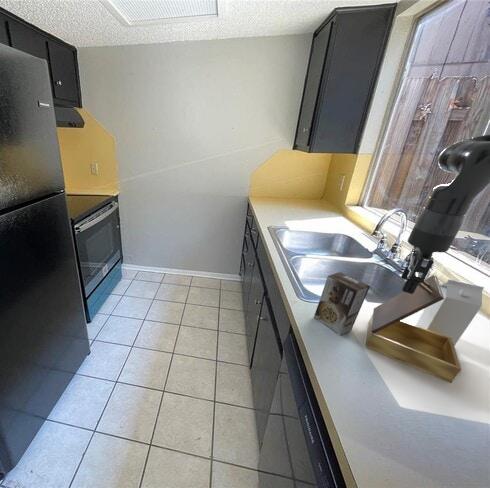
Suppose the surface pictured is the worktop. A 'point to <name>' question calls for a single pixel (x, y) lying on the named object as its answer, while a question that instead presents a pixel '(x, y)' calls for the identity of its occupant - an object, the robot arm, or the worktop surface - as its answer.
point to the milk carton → (452, 309)
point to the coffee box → (341, 302)
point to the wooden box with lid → (416, 348)
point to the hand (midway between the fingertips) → (406, 285)
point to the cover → (407, 303)
